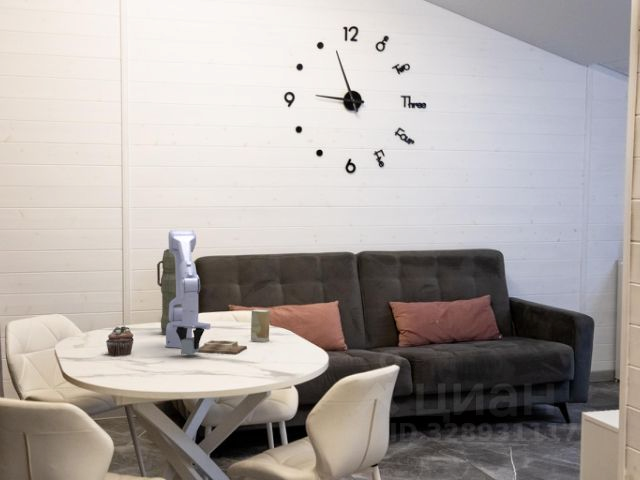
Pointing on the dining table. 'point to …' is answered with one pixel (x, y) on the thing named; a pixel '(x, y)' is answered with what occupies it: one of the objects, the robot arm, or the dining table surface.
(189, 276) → the robot arm
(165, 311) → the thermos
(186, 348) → the key block
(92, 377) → the dining table surface
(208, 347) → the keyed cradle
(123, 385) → the dining table surface
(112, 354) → the cupcake
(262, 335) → the skincare box
